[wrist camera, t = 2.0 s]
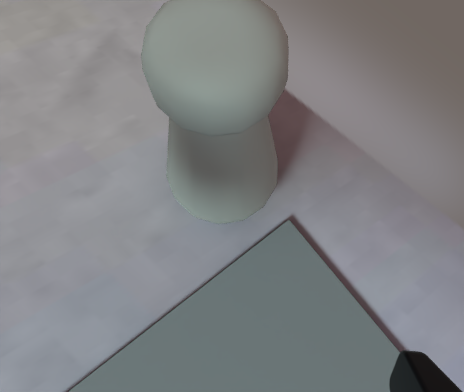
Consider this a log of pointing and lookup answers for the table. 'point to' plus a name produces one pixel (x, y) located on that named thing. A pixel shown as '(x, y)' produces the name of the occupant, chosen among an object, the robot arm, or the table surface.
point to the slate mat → (258, 333)
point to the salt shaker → (218, 101)
